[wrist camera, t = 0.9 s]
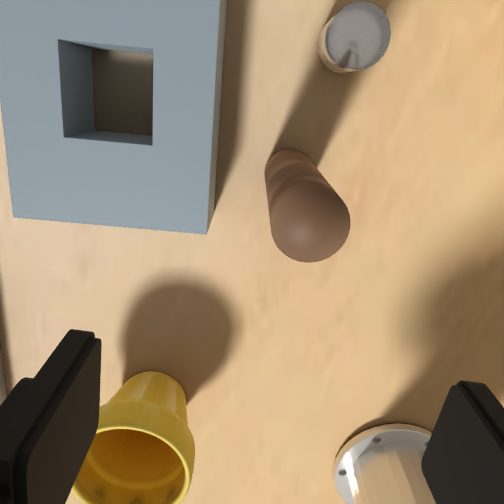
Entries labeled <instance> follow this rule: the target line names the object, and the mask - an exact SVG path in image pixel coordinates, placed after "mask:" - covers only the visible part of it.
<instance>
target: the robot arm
mask: <svg viewBox="0 0 504 504" xmlns="http://www.w3.org/2000/svg"><path fill="white" fill-rule="evenodd" d="M100 373H101V339H98V338H95V335H94V333H93V332H89V331H81V330H74V329H71V330H69V331H68V332H67V334H66V335H65V337H64V338H63V339H62V341H61V342H60V343H59V345H58V346H57V347H56V349H55V350H54V351H53V353H52V354H51V356H50V357H49V358H48V360H47V361H46V362H45V364H44V365H43V366H42V368H41V369H40V371H39V372H38V373H37V375H36V376H35V377H34V378H26V377H25V378H23V379H21V380H20V381H19V382H18V383H17V385H16V386H15V387H14V388H13V390H12V391H11V392H10V394H9V395H8V396H7V397H6V399H5V400H4V401H3V403H2V404H1V405H0V504H65V503H66V500H67V498H68V496H69V494H70V491H71V489H72V487H73V484H74V482H75V480H76V478H77V475H78V473H79V471H80V469H81V466H82V464H83V462H84V460H85V457H86V455H87V453H88V451H89V448H90V446H91V444H92V442H93V439H94V437H95V435H96V432H97V428H98V423H99V403H100ZM333 477H334V482H335V486H336V489H337V492H338V494H339V495H340V497H341V498H342V500H343V501H344V502H345V503H346V504H504V408H503V406H502V405H501V404H500V402H499V401H498V400H497V399H496V397H495V396H494V395H493V394H492V392H491V391H490V390H489V388H488V387H487V386H486V385H485V384H483V383H477V382H470V381H459V382H458V383H457V385H453V386H452V387H451V388H450V391H449V393H448V395H447V398H446V400H445V403H444V405H443V408H442V410H441V413H440V415H439V418H438V420H437V423H436V425H435V427H434V430H433V432H432V433H431V432H430V431H428V430H425V429H423V428H421V427H418V426H414V425H410V424H385V425H381V426H376V427H373V428H371V429H368V430H365V431H363V432H361V433H360V434H358V435H356V436H355V437H353V438H352V439H351V440H350V441H348V442H347V443H346V444H345V445H344V447H343V448H342V449H341V450H340V452H339V454H338V455H337V457H336V459H335V463H334V467H333Z"/></svg>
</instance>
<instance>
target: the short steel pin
mask: <svg viewBox="0 0 504 504" xmlns="http://www.w3.org/2000/svg"><path fill="white" fill-rule="evenodd" d="M390 35H391V30H390V24H389V20H388V18H387V16H386V14H385V13H384V11H383V10H382V9H381V8H380V7H379V6H377V5H376V4H374V3H371V2H368V1H356V2H353V3H350V4H348V5H346V6H345V7H343V8H342V9H341V10H340V11H339V12H338V13H337V14H336V15H335V16H334V17H333V18H332V19H331V20H330V21H328V22H327V23H326V25H325V26H324V27H323V29H322V30H321V33H320V35H319V38H318V54H319V57H320V59H321V61H322V63H323V64H324V65H325V66H326V67H327V68H328V69H330V70H331V71H334V72H337V73H348V72H353V71H357V70H362V69H366V68H368V67H370V66H372V65H374V64H375V63H377V62H378V61H379V60H380V59H381V57H382V56H383V55H384V53H385V52H386V50H387V48H388V45H389V41H390Z"/></svg>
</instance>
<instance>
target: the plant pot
mask: <svg viewBox="0 0 504 504" xmlns="http://www.w3.org/2000/svg"><path fill="white" fill-rule="evenodd" d="M194 458H195V444H194V439H193V436H192V434H191V431H190V430H189V428H188V422H187V410H186V398H185V393H184V391H183V389H182V387H181V385H180V384H179V383H178V382H177V381H176V380H175V379H174V378H172V377H170V376H169V375H167V374H164V373H161V372H156V371H148V372H142V373H139V374H136V375H134V376H133V377H131V378H130V379H128V380H127V381H126V382H125V384H124V385H123V386H122V387H121V388H120V389H119V390H118V392H117V393H116V394H115V395H114V396H113V397H112V398H111V399H110V401H109V402H108V403H107V404H105V405H103V406H101V407H99V423H98V428H97V432H96V435H95V437H94V439H93V442H92V444H91V446H90V448H89V451H88V453H87V455H86V457H85V460H84V462H83V464H82V466H81V469H80V471H79V473H78V475H77V478H76V480H75V482H74V484H73V487H72V489H71V491H72V492H73V494H74V495H75V496H76V497H77V498H78V499H79V500H80V501H81V502H82V503H83V504H179V503H180V502H181V501H182V500H183V498H184V497H185V496H186V494H187V492H188V490H189V487H190V484H191V479H192V474H193V467H194Z"/></svg>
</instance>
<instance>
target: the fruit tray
mask: <svg viewBox="0 0 504 504" xmlns="http://www.w3.org/2000/svg"><path fill="white" fill-rule="evenodd" d="M6 397H7V391H6V384H5V377H4V369H3V362H2V354H1V347H0V405H1V404H2V403H3V401H4V400H5V399H6Z"/></svg>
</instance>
